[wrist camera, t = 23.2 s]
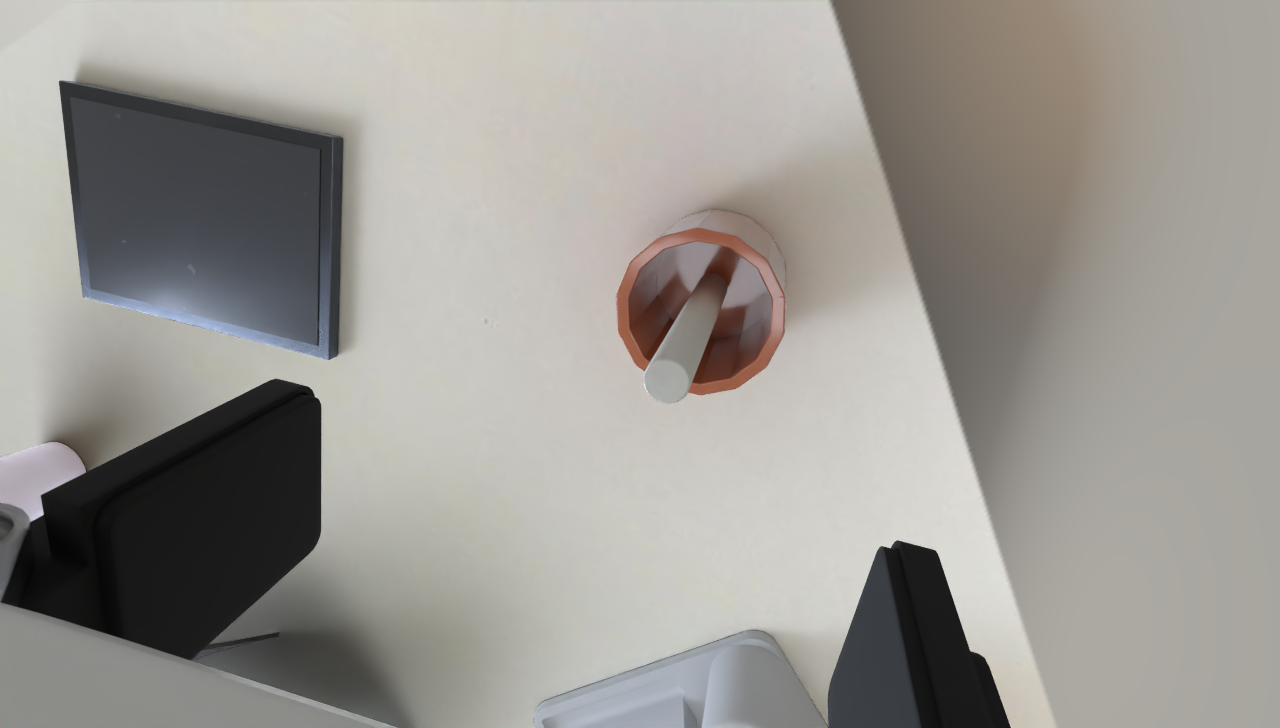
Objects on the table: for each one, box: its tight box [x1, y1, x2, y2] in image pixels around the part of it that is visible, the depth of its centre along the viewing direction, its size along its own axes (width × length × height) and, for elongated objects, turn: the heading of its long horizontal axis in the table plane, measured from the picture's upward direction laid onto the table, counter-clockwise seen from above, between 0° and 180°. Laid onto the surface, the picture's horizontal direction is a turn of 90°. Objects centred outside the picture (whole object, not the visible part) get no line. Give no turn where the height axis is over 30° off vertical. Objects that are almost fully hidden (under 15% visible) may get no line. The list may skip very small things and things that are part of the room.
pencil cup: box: [616, 210, 786, 395], centre depth 30 cm, size 7×7×7 cm
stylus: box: [643, 273, 727, 403], centre depth 27 cm, size 1×1×14 cm
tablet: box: [59, 81, 343, 360], centre depth 38 cm, size 12×16×1 cm
